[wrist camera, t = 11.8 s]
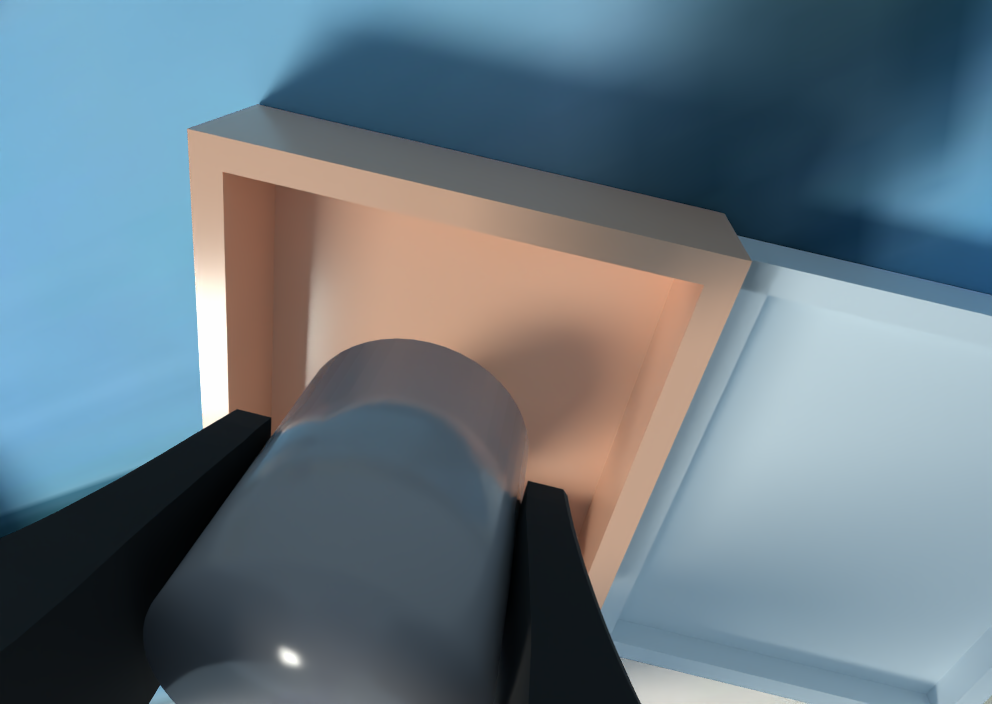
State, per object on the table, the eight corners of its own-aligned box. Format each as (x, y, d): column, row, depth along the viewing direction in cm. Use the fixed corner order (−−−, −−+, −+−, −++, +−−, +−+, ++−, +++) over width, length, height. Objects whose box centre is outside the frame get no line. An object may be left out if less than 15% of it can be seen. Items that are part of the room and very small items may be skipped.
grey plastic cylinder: (502, 546, 13) (458, 814, 9) (297, 496, 13) (156, 738, 9) (553, 371, 11) (527, 617, 7) (306, 312, 11) (124, 519, 7)
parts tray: (926, 691, 25) (948, 737, 24) (582, 607, 26) (581, 647, 24) (1243, 354, 17) (1307, 390, 16) (735, 235, 17) (749, 259, 16)
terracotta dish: (593, 544, 24) (593, 625, 21) (256, 462, 24) (208, 530, 21) (724, 213, 17) (752, 261, 14) (257, 104, 17) (187, 128, 14)
